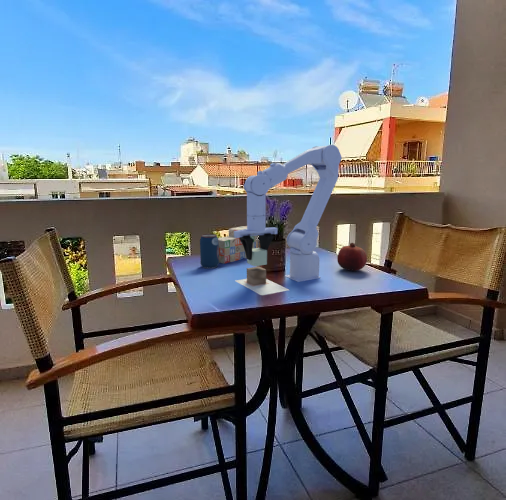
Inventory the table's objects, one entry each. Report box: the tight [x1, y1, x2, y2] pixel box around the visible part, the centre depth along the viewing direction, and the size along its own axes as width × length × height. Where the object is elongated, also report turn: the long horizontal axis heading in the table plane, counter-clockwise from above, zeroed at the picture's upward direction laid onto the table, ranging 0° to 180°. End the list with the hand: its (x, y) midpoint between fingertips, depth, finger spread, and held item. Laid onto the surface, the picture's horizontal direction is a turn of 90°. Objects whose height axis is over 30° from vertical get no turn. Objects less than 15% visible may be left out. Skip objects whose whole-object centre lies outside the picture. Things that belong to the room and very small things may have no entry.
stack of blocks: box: [217, 225, 257, 264], centre depth 153 cm, size 21×6×12 cm, turn 141°
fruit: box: [336, 242, 368, 272], centre depth 134 cm, size 11×10×10 cm
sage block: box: [246, 247, 268, 267], centre depth 117 cm, size 4×4×4 cm
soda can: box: [199, 233, 220, 269], centre depth 140 cm, size 7×7×12 cm
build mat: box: [235, 278, 290, 296], centre depth 116 cm, size 10×17×1 cm, turn 30°
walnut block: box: [246, 266, 267, 285], centre depth 118 cm, size 4×4×4 cm
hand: (256, 258), depth 117 cm, fingers closed on sage block, 4 cm apart
